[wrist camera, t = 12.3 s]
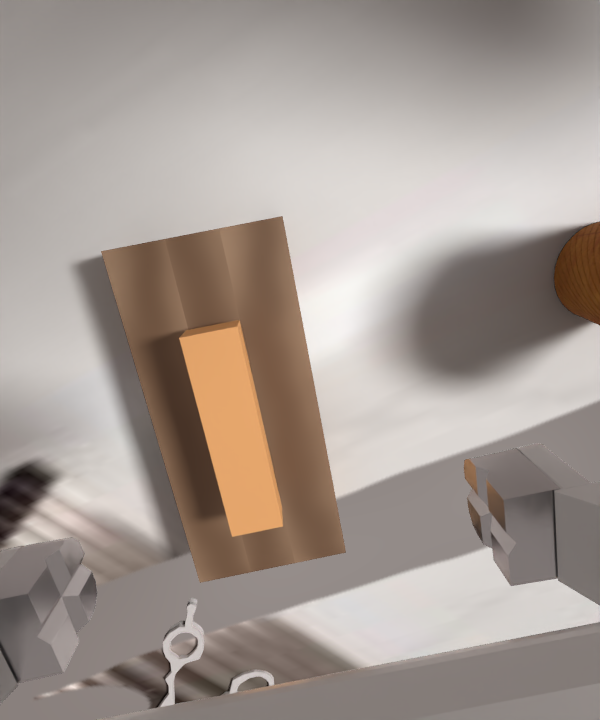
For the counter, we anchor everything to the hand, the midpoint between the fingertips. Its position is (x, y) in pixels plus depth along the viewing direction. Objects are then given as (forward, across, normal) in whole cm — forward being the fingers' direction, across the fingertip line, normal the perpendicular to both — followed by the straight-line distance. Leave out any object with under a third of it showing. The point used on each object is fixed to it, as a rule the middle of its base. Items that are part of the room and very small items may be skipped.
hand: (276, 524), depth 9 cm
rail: (+20, +4, +4) cm, 21 cm away
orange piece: (+20, +4, +4) cm, 21 cm away
